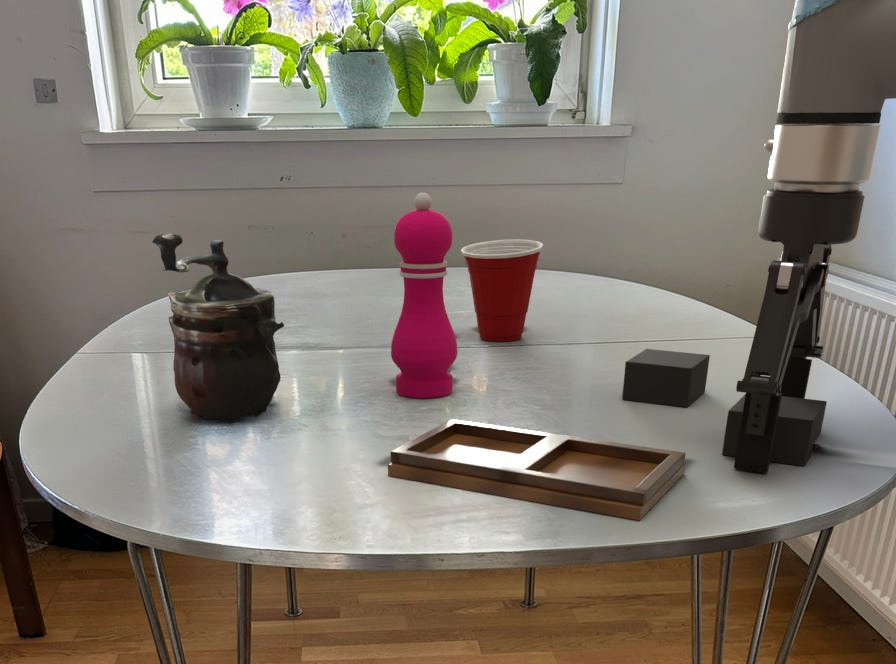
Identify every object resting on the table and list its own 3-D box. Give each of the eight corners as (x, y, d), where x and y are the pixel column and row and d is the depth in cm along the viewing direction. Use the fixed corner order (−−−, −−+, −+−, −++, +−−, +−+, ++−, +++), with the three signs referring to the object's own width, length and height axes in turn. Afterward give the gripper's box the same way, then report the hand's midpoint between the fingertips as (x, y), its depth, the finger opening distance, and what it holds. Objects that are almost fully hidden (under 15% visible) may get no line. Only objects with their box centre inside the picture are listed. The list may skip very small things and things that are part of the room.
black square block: (818, 444, 86) (827, 401, 84) (804, 466, 81) (813, 420, 79) (740, 434, 89) (746, 392, 87) (721, 454, 84) (728, 410, 82)
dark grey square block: (705, 392, 103) (710, 354, 101) (687, 407, 98) (692, 368, 96) (642, 385, 106) (646, 348, 104) (621, 399, 101) (625, 361, 99)
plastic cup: (443, 338, 130) (443, 244, 124) (498, 327, 136) (500, 237, 131) (500, 349, 123) (503, 250, 117) (555, 337, 129) (560, 243, 123)
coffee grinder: (141, 436, 91) (108, 235, 83) (193, 397, 104) (170, 218, 95) (268, 440, 90) (249, 234, 81) (305, 399, 102) (292, 218, 94)
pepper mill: (469, 388, 106) (472, 191, 96) (433, 403, 100) (433, 195, 91) (415, 380, 109) (413, 189, 100) (378, 394, 104) (372, 193, 94)
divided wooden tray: (684, 473, 80) (687, 450, 79) (639, 520, 71) (642, 495, 70) (453, 438, 89) (453, 417, 88) (387, 475, 80) (387, 452, 79)
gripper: (795, 176, 86) (756, 408, 96) (728, 196, 67) (688, 482, 77) (885, 178, 83) (834, 418, 93) (841, 200, 64) (783, 498, 74)
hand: (767, 448), depth 85 cm, fingers open, 13 cm apart
